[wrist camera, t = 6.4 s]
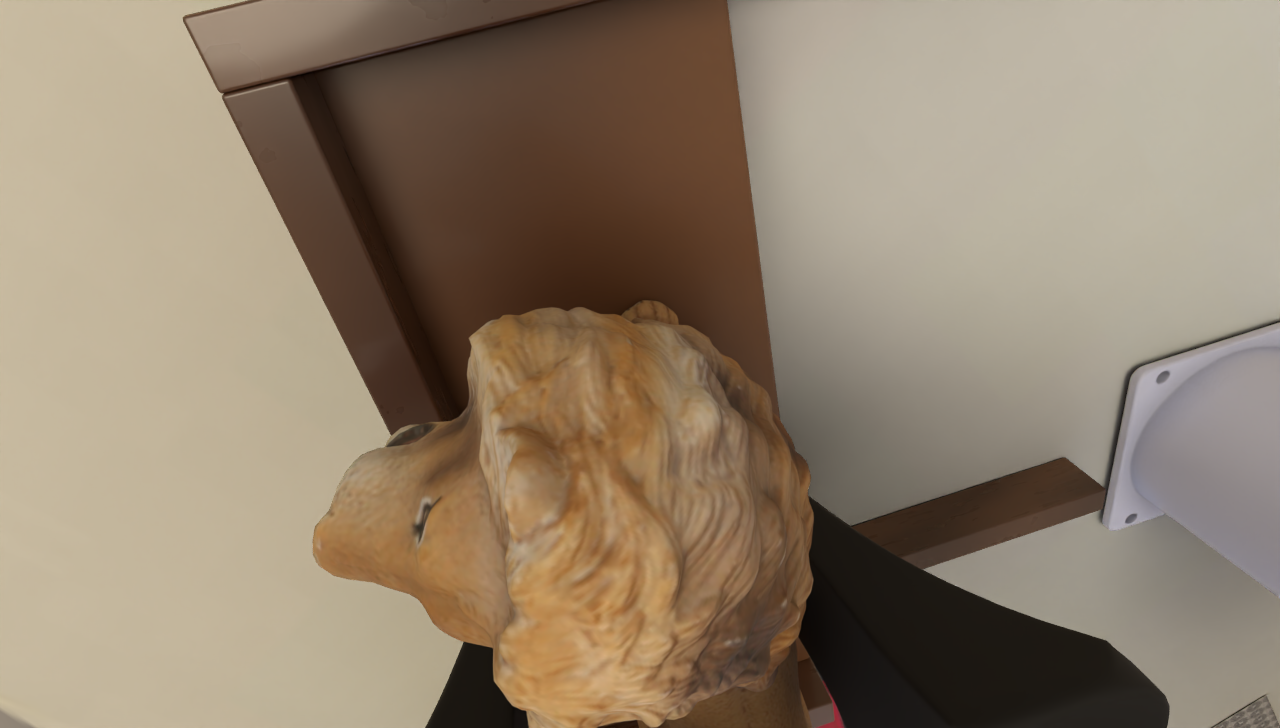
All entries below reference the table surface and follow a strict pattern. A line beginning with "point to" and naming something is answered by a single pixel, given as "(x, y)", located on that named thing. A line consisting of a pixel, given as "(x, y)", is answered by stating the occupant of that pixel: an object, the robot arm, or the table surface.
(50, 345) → the table surface
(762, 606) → the lion figurine
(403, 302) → the rack
